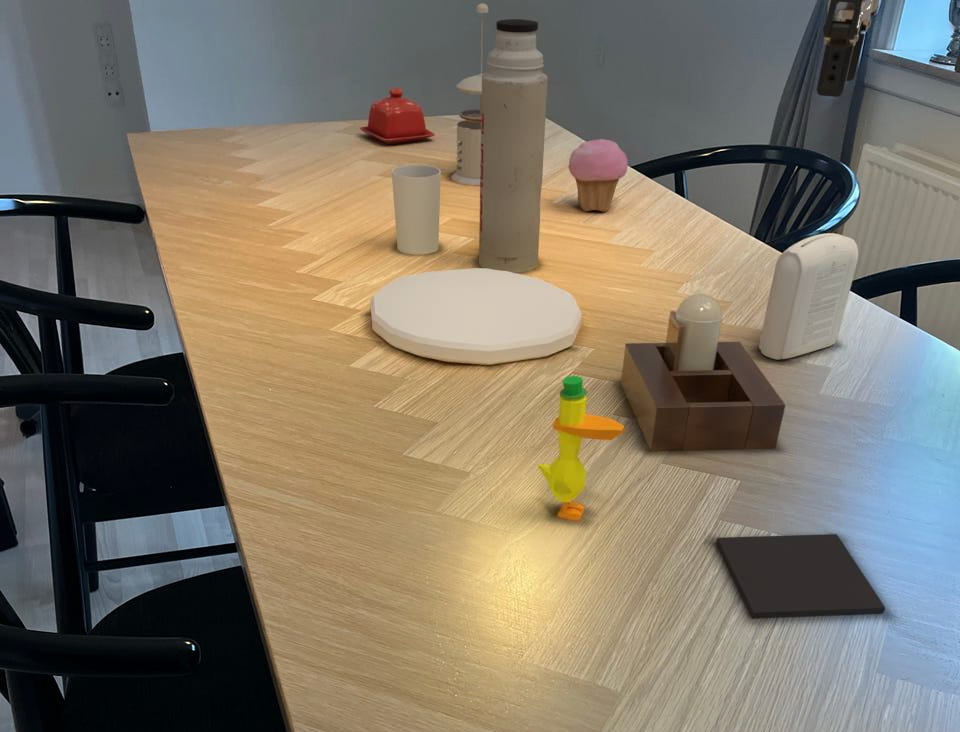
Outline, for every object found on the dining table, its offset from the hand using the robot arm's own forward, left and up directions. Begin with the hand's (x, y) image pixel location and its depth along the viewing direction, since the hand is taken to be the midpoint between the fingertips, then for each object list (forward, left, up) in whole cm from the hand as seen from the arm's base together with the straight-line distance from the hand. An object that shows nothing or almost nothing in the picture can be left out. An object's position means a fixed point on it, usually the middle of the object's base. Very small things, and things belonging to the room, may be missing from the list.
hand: (835, 87), depth 87 cm
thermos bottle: (+24, -38, -28) cm, 53 cm away
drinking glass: (+36, -45, -28) cm, 64 cm away
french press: (+24, -83, -28) cm, 91 cm away
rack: (+10, +8, -28) cm, 31 cm away
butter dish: (+38, -111, -28) cm, 121 cm away
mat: (+9, +36, -28) cm, 46 cm away
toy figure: (+25, +26, -28) cm, 46 cm away
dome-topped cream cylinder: (+10, +4, -28) cm, 30 cm away
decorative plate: (+30, -17, -28) cm, 45 cm away
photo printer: (-6, -8, -28) cm, 30 cm away
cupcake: (+8, -63, -28) cm, 69 cm away
